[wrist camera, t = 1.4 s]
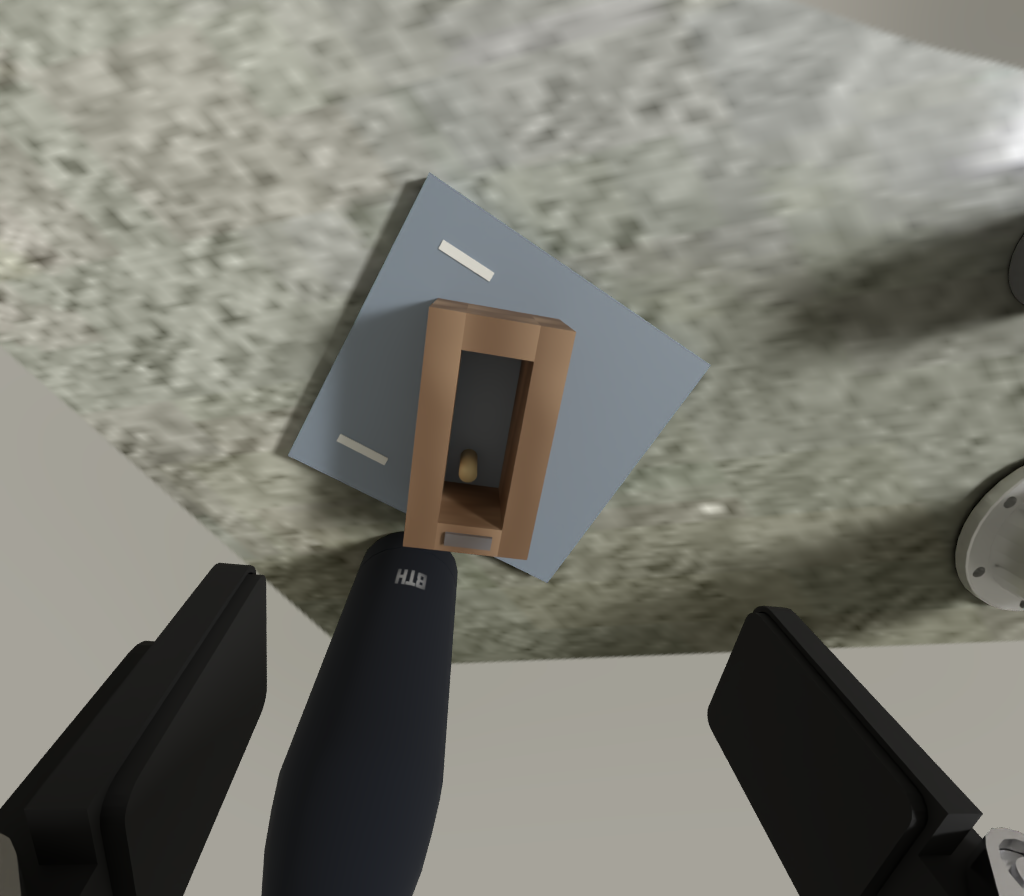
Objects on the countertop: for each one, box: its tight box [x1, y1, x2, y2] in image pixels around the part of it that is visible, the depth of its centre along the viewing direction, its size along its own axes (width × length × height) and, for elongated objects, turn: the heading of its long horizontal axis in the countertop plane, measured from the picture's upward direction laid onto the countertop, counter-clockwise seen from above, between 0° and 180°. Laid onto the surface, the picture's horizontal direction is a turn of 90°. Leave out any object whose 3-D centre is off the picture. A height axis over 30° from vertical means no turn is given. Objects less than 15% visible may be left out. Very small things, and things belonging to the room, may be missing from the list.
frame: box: [403, 298, 576, 560], centre depth 26 cm, size 6×12×5 cm, turn 170°
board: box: [288, 172, 711, 583], centre depth 27 cm, size 18×17×4 cm
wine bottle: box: [262, 532, 458, 896], centre depth 19 cm, size 6×6×30 cm
